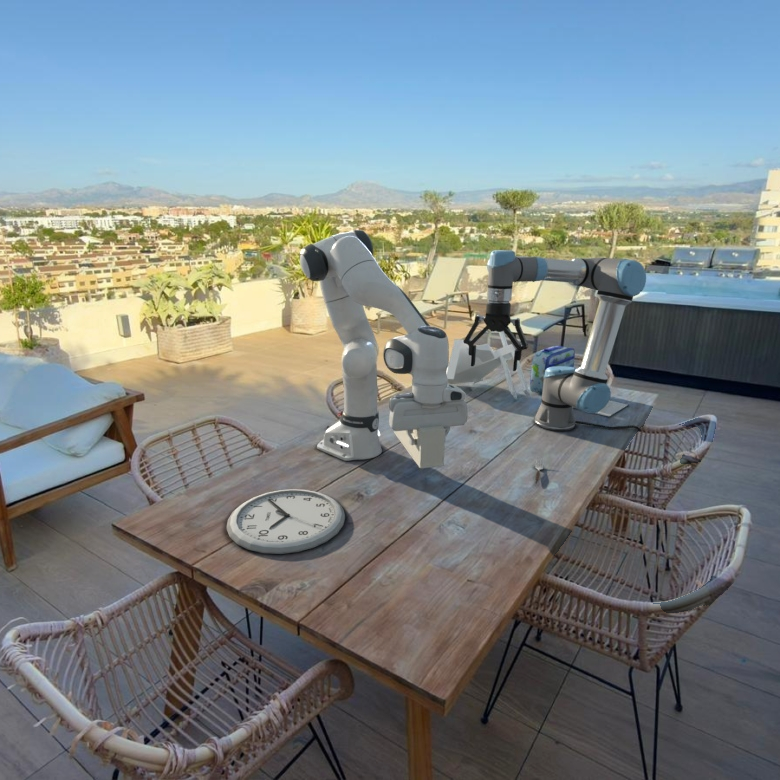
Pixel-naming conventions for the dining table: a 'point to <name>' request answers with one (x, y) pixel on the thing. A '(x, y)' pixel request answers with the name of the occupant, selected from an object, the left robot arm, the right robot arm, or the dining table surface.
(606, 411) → the invitation card
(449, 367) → the white plastic object
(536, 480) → the fork
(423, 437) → the box
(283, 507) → the wall clock
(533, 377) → the lunch box
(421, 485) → the dining table surface
